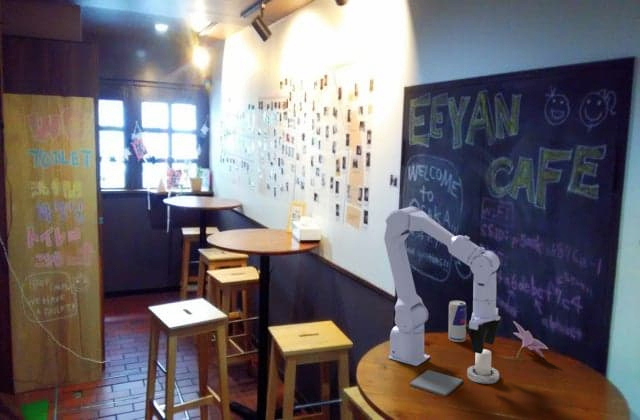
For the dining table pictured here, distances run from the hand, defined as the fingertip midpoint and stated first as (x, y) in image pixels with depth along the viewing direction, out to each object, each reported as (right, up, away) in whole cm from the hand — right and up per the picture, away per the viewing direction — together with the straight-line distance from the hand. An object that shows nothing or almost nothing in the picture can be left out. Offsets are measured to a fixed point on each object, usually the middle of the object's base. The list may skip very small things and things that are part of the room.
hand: (483, 347), depth 138 cm
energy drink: (0, -5, +28) cm, 28 cm away
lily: (+17, -6, +14) cm, 23 cm away
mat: (-13, -9, -2) cm, 16 cm away
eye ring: (0, -8, +1) cm, 8 cm away
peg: (0, -8, +1) cm, 8 cm away
